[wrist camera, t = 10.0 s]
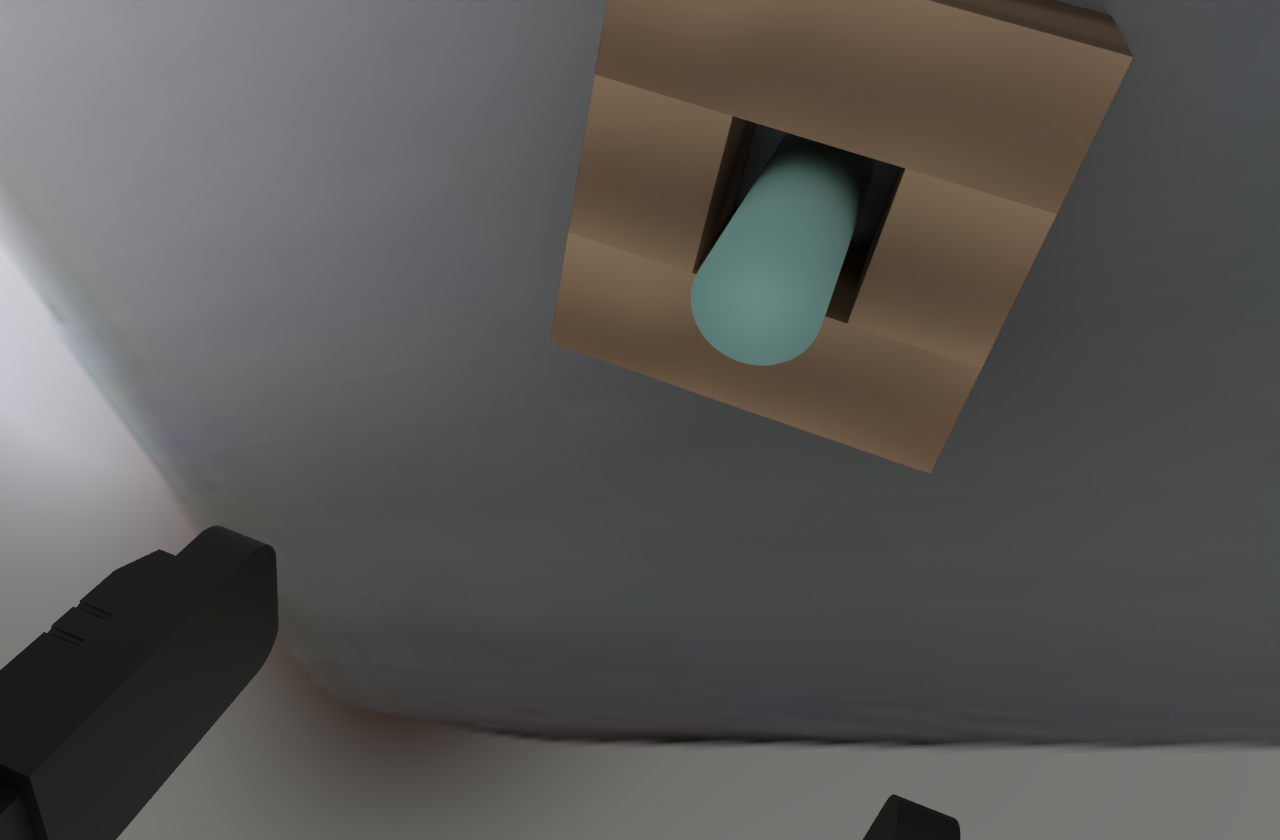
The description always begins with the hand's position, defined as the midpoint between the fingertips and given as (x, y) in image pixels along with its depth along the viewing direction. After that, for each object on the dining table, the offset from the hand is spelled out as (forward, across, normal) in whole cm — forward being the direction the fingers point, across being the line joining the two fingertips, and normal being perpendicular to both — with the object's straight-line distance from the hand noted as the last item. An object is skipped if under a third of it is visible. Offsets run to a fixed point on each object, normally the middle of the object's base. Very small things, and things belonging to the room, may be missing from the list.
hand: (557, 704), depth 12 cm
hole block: (+22, 0, 0) cm, 22 cm away
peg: (+22, 0, 0) cm, 22 cm away
